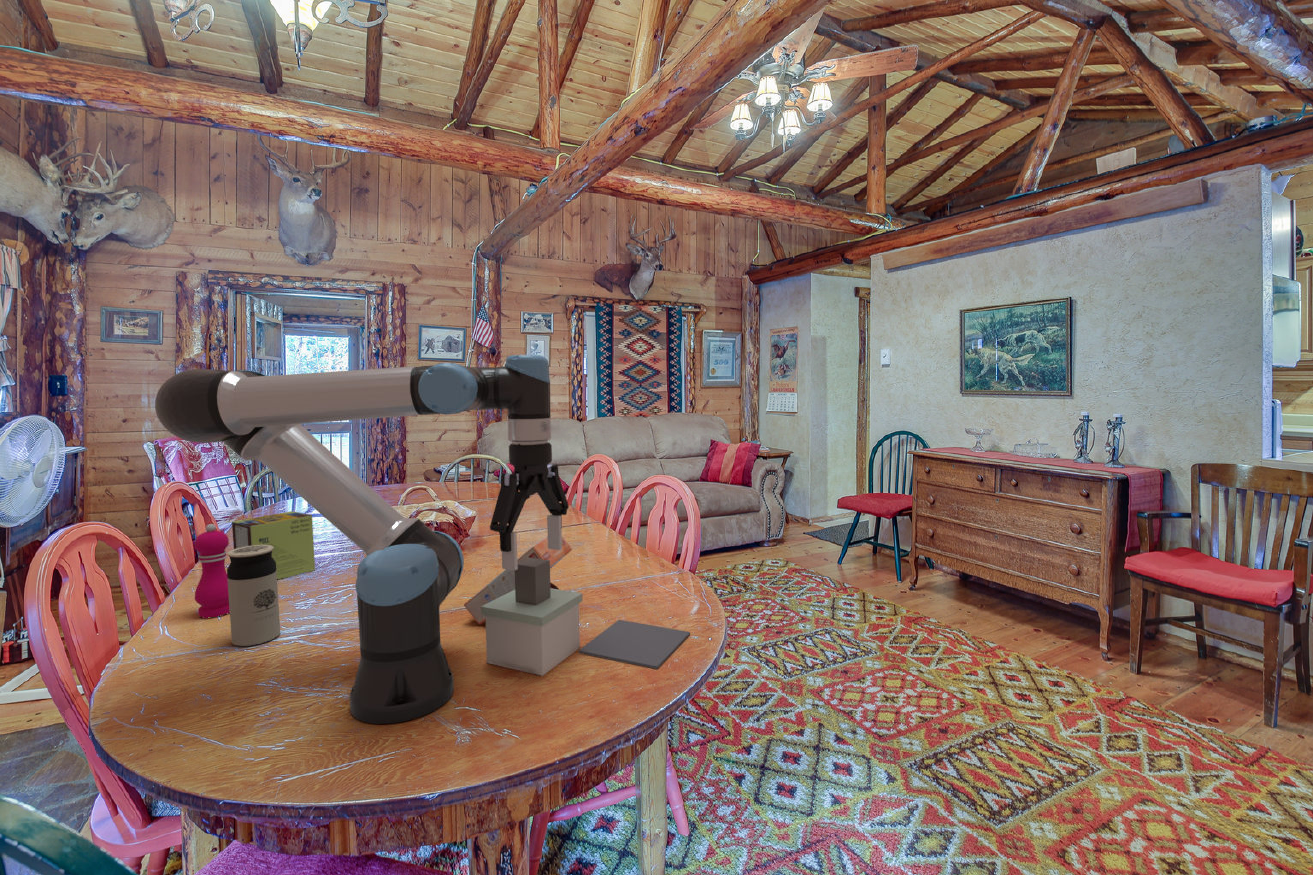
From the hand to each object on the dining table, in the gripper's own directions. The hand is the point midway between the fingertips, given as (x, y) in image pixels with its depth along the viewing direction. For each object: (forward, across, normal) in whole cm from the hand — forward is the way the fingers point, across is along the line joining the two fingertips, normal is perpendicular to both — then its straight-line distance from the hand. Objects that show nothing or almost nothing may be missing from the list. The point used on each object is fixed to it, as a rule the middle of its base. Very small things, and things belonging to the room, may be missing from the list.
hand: (533, 558), depth 108 cm
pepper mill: (+18, -11, +77) cm, 80 cm away
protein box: (+18, +12, +92) cm, 95 cm away
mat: (+18, +12, -15) cm, 26 cm away
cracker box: (+16, +13, +22) cm, 30 cm away
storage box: (+18, 0, 0) cm, 18 cm away
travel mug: (+18, -16, +55) cm, 60 cm away
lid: (+10, 0, 0) cm, 10 cm away
